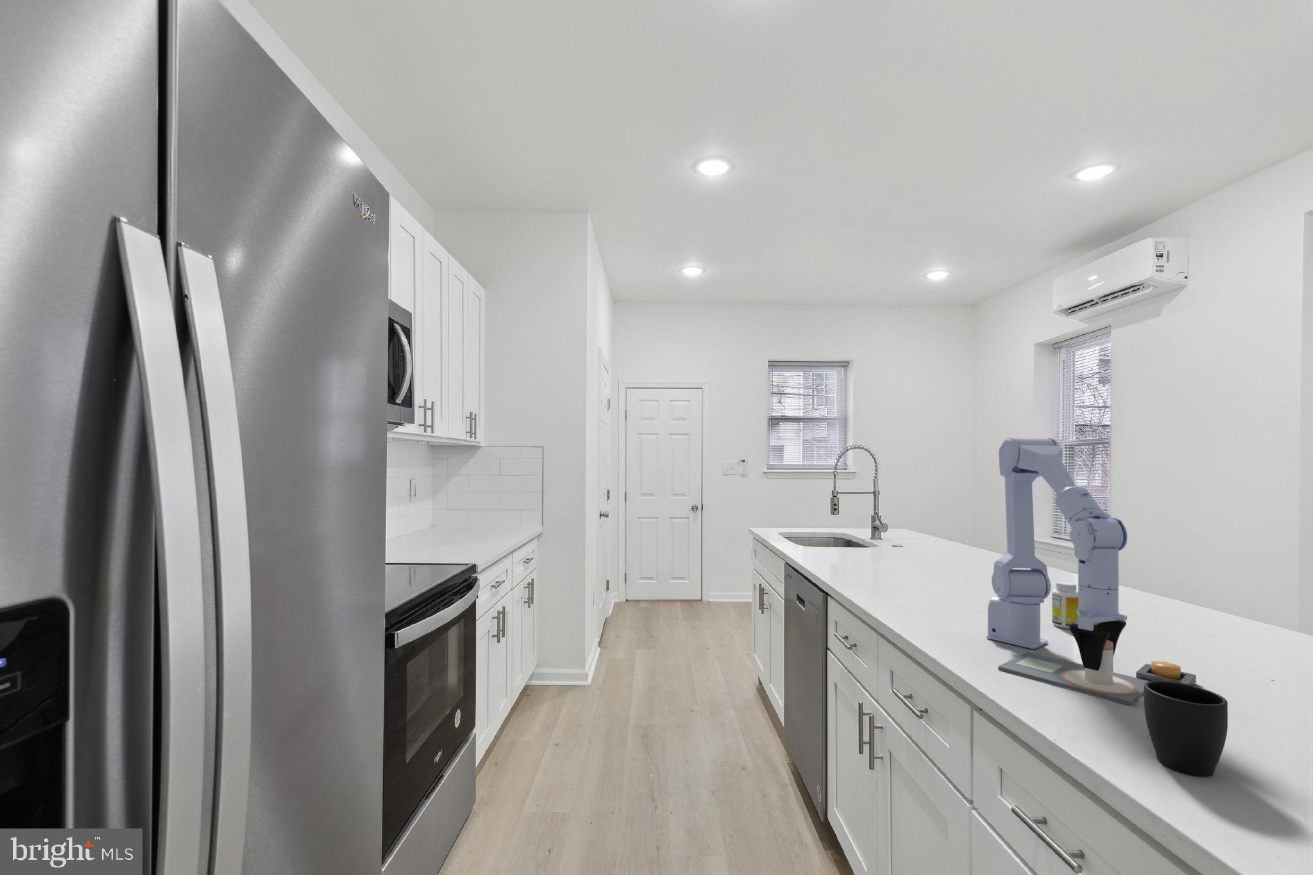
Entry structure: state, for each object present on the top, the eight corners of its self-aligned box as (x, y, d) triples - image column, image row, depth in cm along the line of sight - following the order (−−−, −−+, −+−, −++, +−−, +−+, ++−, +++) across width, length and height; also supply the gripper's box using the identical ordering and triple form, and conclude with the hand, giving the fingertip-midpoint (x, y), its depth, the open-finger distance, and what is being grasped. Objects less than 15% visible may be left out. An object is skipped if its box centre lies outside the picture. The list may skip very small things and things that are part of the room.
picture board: (998, 669, 112) (998, 665, 112) (1026, 654, 121) (1026, 650, 121) (1131, 705, 96) (1131, 700, 96) (1153, 685, 105) (1153, 680, 105)
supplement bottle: (1083, 627, 141) (1083, 583, 141) (1076, 631, 137) (1076, 586, 138) (1056, 621, 145) (1056, 579, 145) (1048, 625, 142) (1048, 582, 142)
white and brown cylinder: (1081, 680, 105) (1081, 639, 105) (1088, 675, 108) (1088, 635, 108) (1109, 687, 102) (1109, 645, 102) (1116, 681, 105) (1116, 641, 105)
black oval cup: (1218, 751, 82) (1218, 681, 82) (1233, 791, 72) (1233, 711, 72) (1141, 734, 87) (1141, 667, 87) (1145, 768, 77) (1145, 693, 77)
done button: (1148, 674, 107) (1148, 664, 107) (1154, 669, 110) (1154, 659, 110) (1178, 681, 104) (1177, 670, 104) (1183, 675, 107) (1182, 665, 107)
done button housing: (1136, 680, 108) (1136, 671, 108) (1146, 671, 112) (1146, 663, 112) (1187, 692, 102) (1187, 684, 102) (1195, 683, 107) (1195, 674, 107)
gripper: (1113, 596, 98) (1114, 680, 97) (1137, 585, 107) (1137, 661, 106) (1063, 588, 103) (1063, 667, 103) (1090, 578, 112) (1090, 651, 112)
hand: (1098, 664), depth 105 cm, fingers open, 7 cm apart
